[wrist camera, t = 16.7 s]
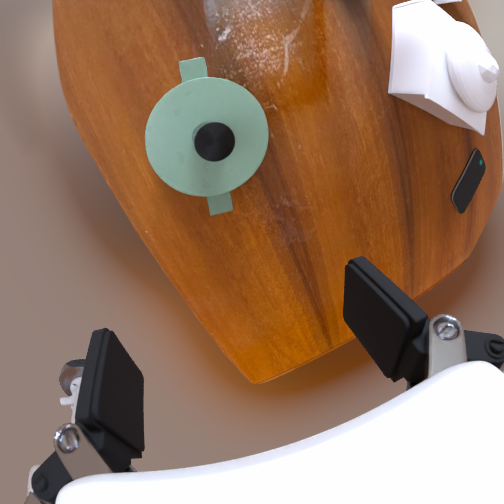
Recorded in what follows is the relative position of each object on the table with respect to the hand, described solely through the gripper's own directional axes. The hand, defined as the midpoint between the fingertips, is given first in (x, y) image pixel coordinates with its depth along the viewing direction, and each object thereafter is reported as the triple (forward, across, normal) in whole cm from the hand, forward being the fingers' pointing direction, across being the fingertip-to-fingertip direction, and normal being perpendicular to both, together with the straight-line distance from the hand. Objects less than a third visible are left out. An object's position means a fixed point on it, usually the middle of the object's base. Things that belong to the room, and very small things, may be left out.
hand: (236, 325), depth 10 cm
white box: (+26, -41, -14) cm, 51 cm away
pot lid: (+18, -2, -6) cm, 19 cm away
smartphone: (+26, -56, +9) cm, 62 cm away
